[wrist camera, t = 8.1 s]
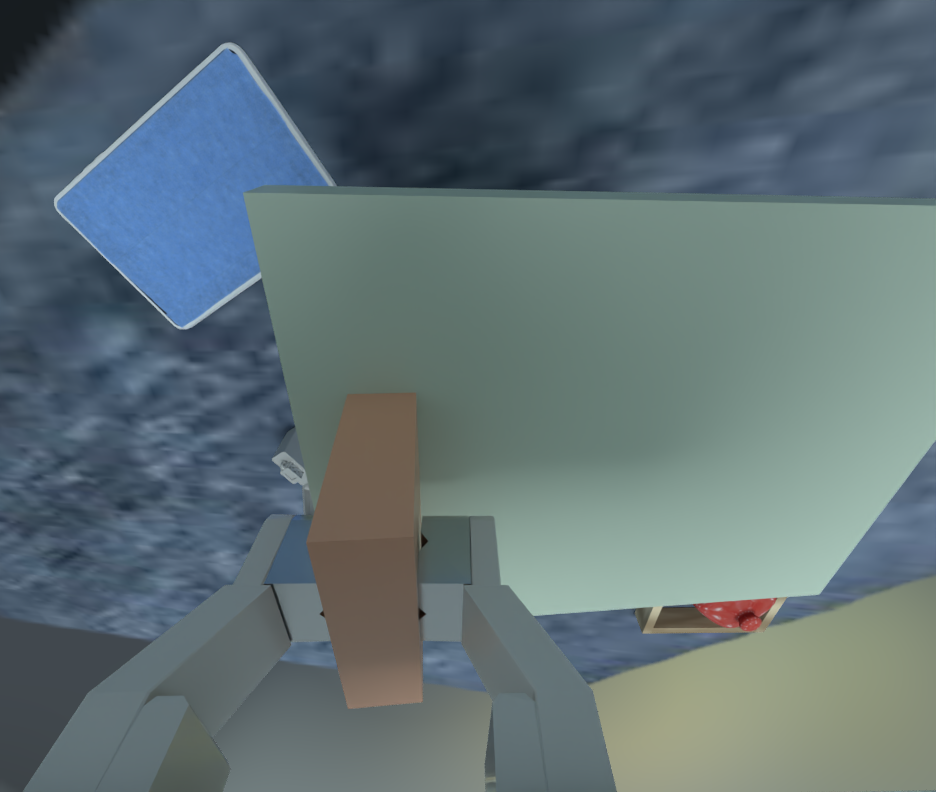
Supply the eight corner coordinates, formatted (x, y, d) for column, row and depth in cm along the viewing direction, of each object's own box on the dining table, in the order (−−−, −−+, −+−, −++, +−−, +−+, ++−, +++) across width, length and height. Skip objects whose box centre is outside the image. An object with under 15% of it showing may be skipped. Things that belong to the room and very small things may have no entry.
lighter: (285, 432, 44) (255, 486, 38) (298, 424, 44) (269, 477, 37) (333, 475, 47) (313, 532, 41) (345, 468, 47) (326, 524, 40)
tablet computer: (187, 330, 39) (179, 336, 38) (55, 200, 33) (41, 202, 32) (356, 210, 34) (353, 213, 33) (237, 36, 29) (228, 32, 27)
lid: (273, 181, 9) (84, 248, 4) (1007, 197, 10) (1538, 258, 5) (349, 580, 16) (315, 789, 11) (783, 553, 17) (929, 723, 12)
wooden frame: (669, 523, 53) (680, 543, 50) (805, 523, 54) (823, 543, 51) (634, 612, 62) (642, 633, 60) (751, 612, 63) (763, 632, 61)
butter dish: (728, 524, 54) (771, 585, 46) (775, 561, 58) (822, 623, 50) (654, 571, 58) (683, 633, 51) (703, 603, 62) (736, 665, 55)
